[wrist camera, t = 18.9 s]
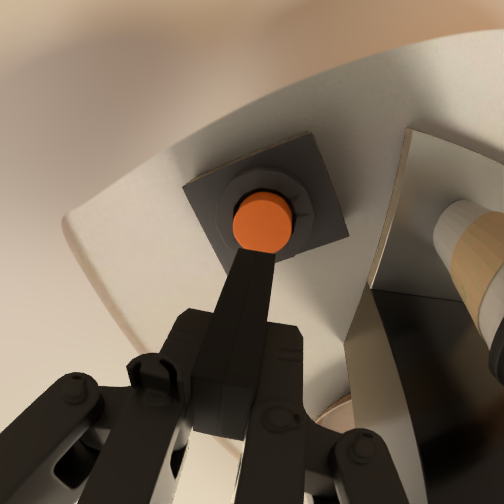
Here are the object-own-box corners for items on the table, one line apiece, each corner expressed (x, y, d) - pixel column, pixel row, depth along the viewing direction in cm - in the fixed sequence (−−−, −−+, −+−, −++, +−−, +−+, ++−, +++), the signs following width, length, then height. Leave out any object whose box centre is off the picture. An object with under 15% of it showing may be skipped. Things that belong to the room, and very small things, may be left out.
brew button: (279, 183, 19) (278, 190, 17) (299, 231, 20) (300, 244, 19) (229, 202, 20) (222, 212, 18) (251, 248, 21) (247, 262, 20)
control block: (309, 130, 22) (314, 134, 17) (343, 221, 24) (354, 247, 20) (194, 177, 24) (172, 193, 20) (234, 259, 27) (223, 289, 23)
